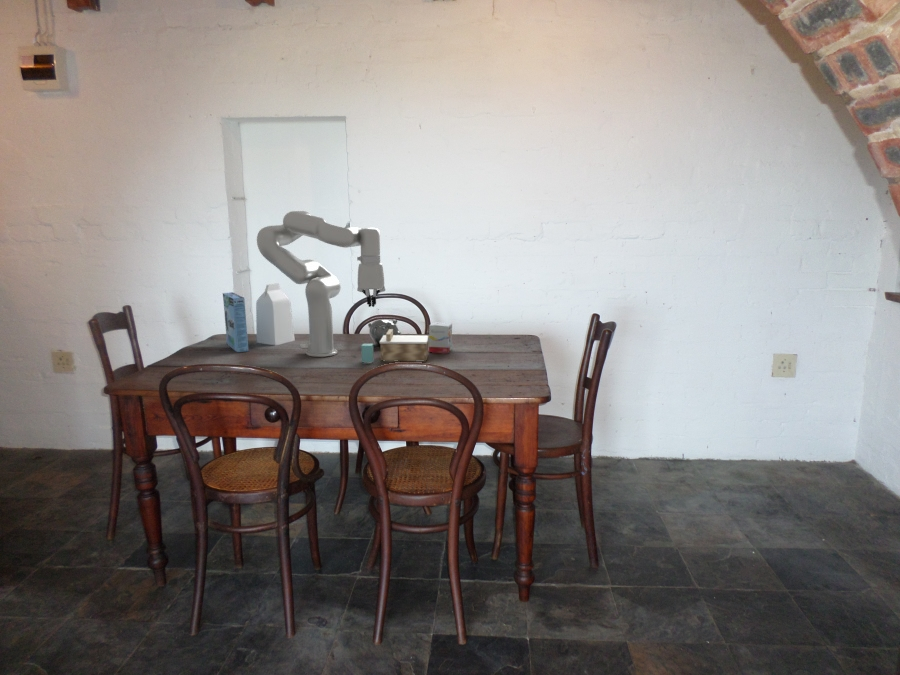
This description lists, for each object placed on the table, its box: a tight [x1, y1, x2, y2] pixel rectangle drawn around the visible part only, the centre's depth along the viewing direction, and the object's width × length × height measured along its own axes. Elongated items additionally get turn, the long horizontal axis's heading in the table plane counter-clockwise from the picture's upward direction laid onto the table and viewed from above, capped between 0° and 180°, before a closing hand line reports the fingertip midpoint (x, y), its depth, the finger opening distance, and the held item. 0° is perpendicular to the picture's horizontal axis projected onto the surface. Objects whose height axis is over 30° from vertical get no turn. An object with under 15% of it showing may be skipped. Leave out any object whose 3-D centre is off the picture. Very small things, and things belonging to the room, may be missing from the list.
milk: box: [255, 283, 296, 346], centre depth 282 cm, size 12×12×26 cm
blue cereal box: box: [222, 291, 249, 353], centre depth 269 cm, size 20×5×23 cm, turn 31°
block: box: [361, 343, 374, 363], centre depth 248 cm, size 4×4×7 cm
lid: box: [380, 329, 429, 344], centre depth 253 cm, size 19×13×4 cm
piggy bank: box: [367, 318, 402, 347], centre depth 276 cm, size 11×15×12 cm
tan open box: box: [379, 340, 429, 363], centre depth 254 cm, size 18×12×7 cm, turn 89°
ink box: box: [428, 321, 453, 354], centre depth 266 cm, size 9×9×12 cm
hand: (371, 306), depth 251 cm, fingers closed
